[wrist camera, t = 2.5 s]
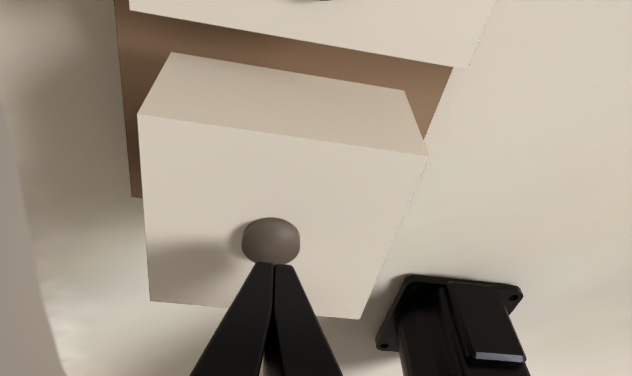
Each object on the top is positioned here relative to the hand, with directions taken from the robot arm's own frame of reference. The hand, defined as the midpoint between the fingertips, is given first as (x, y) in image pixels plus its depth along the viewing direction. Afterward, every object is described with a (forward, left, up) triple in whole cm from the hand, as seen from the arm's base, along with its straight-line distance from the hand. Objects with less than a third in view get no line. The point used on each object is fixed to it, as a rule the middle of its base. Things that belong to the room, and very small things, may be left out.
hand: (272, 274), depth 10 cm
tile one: (0, 0, -4) cm, 4 cm away
